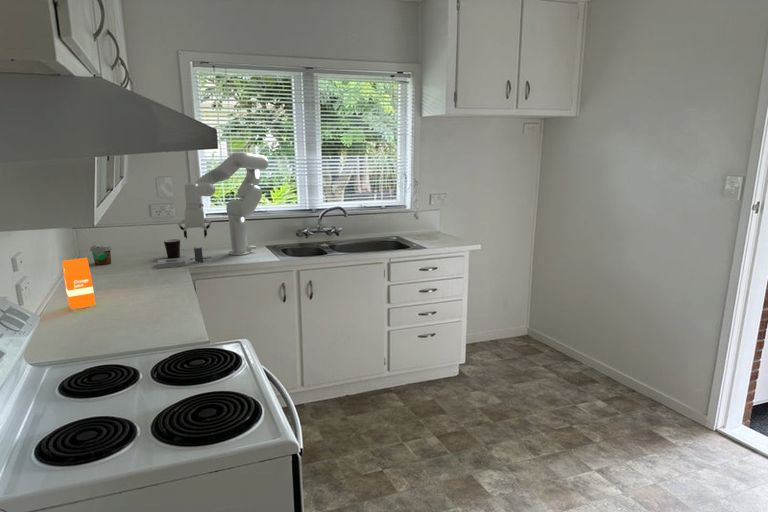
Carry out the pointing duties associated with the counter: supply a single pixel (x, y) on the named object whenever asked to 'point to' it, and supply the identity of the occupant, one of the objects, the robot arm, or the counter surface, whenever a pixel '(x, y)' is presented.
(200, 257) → the charger
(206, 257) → the phone
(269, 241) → the counter surface
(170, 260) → the outlet plate
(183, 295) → the counter surface
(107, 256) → the food container
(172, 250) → the coffee mug
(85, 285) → the orange juice
